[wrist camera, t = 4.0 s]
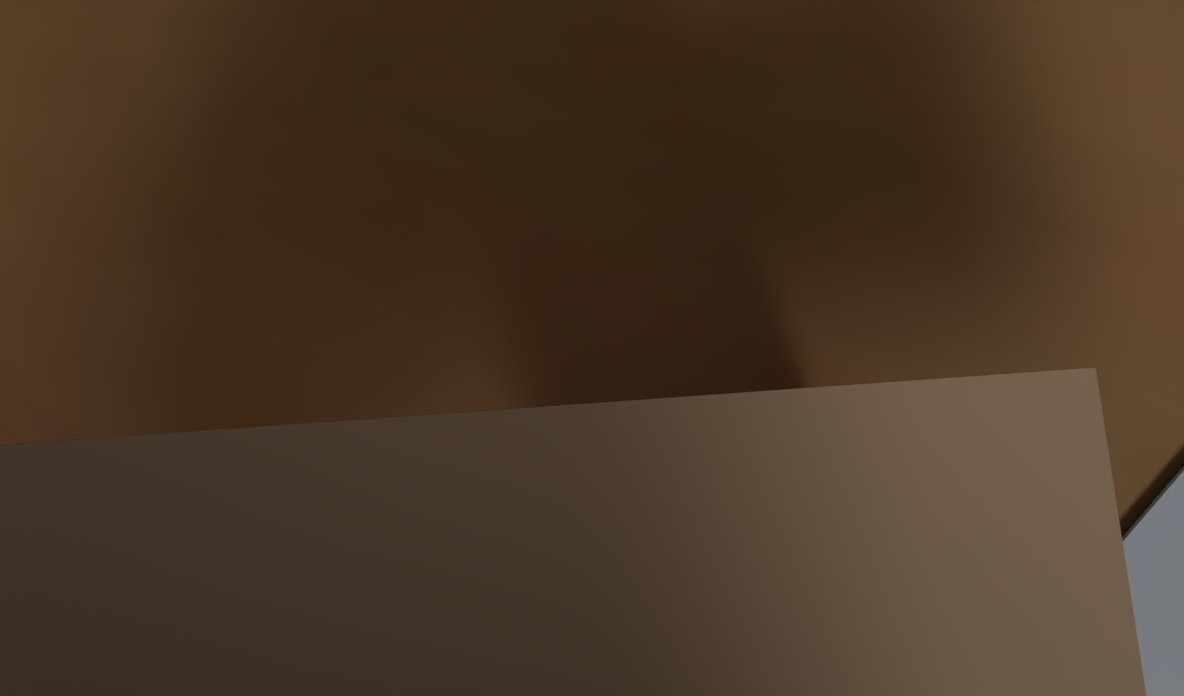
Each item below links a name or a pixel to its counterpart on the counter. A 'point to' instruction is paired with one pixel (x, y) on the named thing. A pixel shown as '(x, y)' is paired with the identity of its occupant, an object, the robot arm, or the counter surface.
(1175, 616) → the board
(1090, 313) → the counter surface
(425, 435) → the tan tall block
